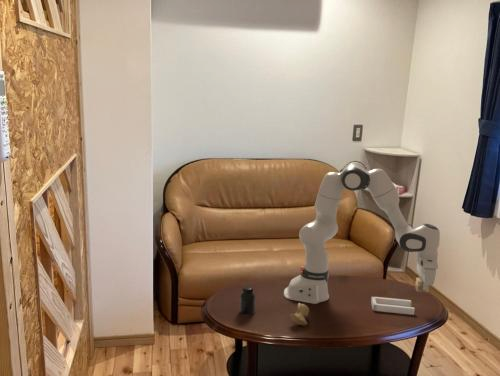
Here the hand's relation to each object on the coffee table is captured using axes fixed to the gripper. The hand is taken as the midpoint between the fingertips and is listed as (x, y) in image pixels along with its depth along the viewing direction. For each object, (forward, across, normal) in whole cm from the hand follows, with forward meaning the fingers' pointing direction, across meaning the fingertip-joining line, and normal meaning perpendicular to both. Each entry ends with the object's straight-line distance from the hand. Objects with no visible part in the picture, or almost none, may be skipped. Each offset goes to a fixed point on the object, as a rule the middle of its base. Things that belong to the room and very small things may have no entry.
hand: (422, 286), depth 215 cm
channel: (+12, 0, -13) cm, 18 cm away
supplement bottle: (+13, +20, -80) cm, 83 cm away
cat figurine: (+13, +24, -55) cm, 61 cm away
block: (+2, 0, 0) cm, 2 cm away
